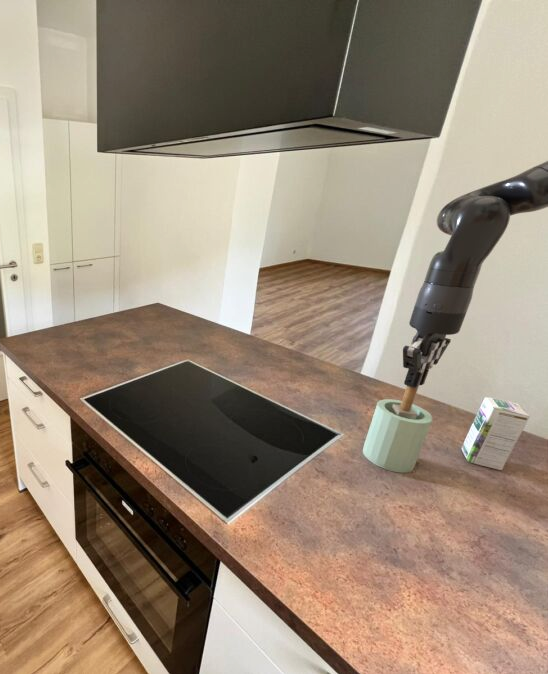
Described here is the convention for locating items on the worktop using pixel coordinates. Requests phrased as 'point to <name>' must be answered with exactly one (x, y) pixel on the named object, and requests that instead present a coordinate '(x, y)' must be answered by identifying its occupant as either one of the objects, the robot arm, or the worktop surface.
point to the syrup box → (494, 433)
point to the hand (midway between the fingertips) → (413, 384)
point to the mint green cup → (396, 437)
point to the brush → (406, 404)
